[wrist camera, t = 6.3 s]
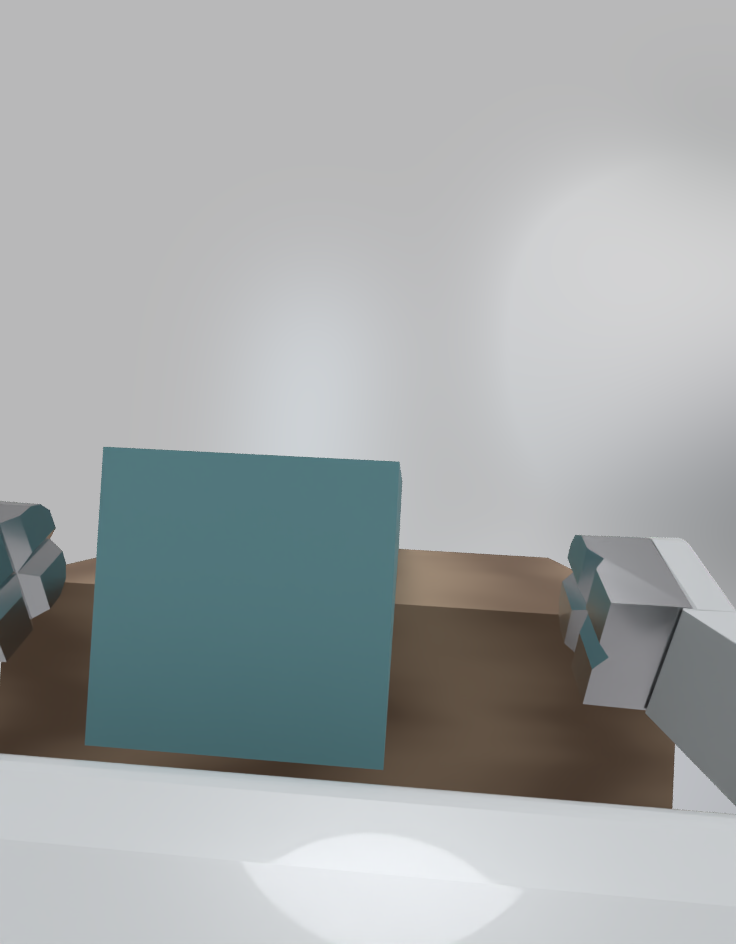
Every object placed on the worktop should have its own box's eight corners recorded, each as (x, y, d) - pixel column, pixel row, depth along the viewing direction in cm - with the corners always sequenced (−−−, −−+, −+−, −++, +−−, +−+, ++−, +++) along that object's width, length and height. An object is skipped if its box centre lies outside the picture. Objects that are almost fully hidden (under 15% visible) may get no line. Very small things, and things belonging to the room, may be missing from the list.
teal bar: (84, 745, 6) (104, 446, 6) (333, 542, 27) (337, 478, 27) (383, 770, 6) (399, 461, 6) (398, 546, 27) (402, 481, 27)
